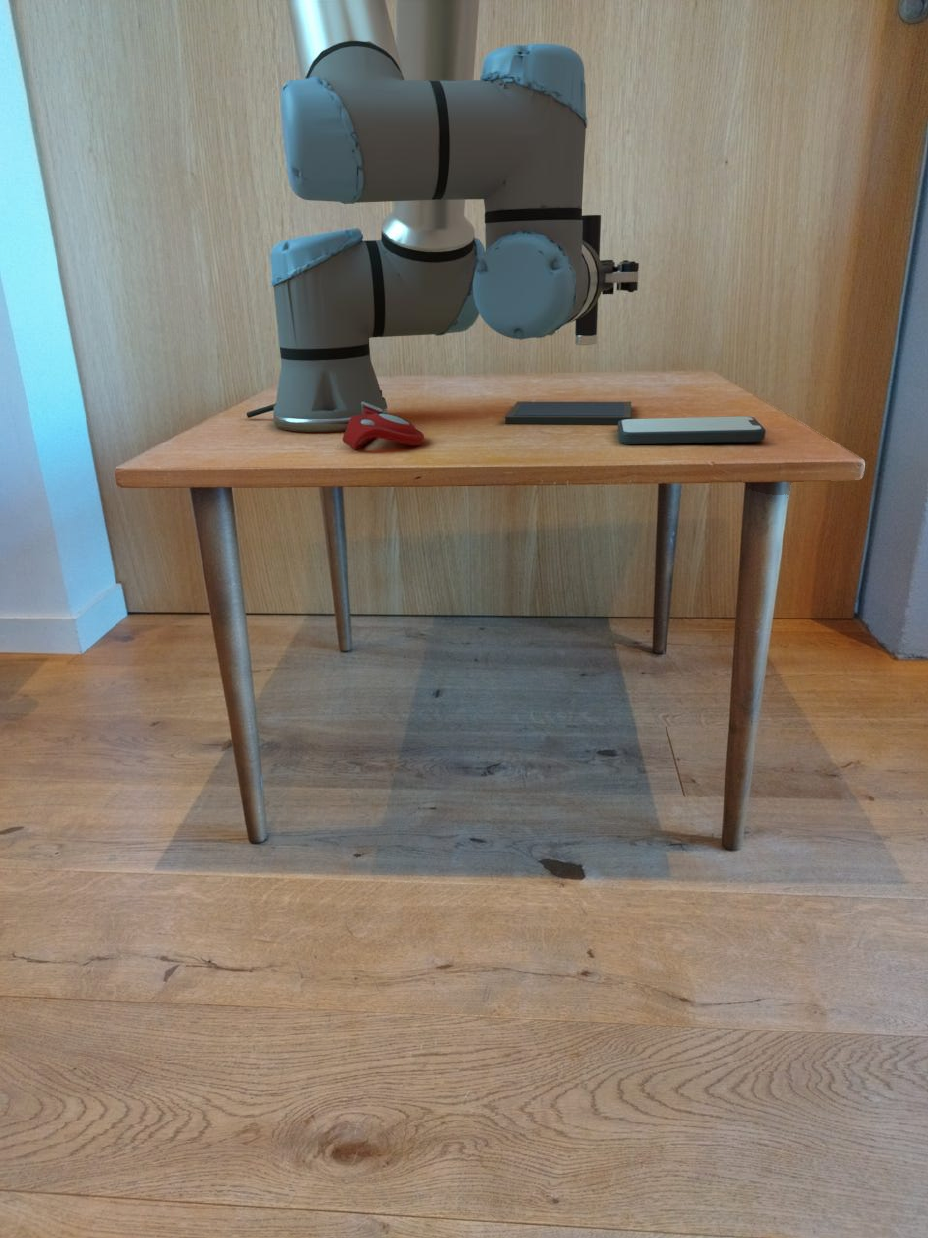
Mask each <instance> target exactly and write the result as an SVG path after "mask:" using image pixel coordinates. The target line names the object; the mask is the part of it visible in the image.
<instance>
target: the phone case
mask: <svg viewBox="0 0 928 1238" xmlns="http://www.w3.org/2000/svg"><path fill="white" fill-rule="evenodd" d="M766 431H767V430H766V428H765V427H764V426H763V425H762V424H761V423H760V422H759V421H758V420H757V419H756V418H755V417H752V416H744V415H743V416H704V417H701V416H700V417H662V418H658V417H657V418H631V419H625V420H620V421H618V425H617V435H618V442H619V443H621V444H623V445H655V444H656V445H658V444H659V445H660V444H662V445H663V444H704V443H705V444H709V443H710V444H711V443H712V444H713V443H732V444H740V443H749V444H750V443H757V442H762V441H764V440H765V439H766Z"/></svg>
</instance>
